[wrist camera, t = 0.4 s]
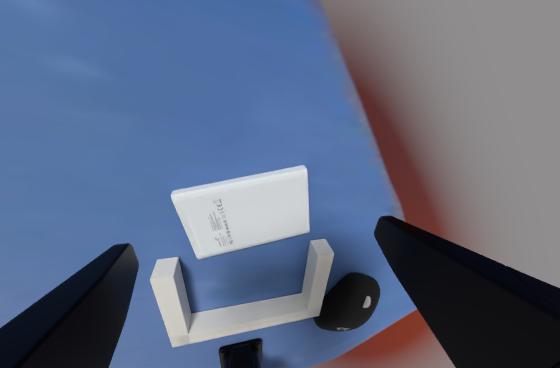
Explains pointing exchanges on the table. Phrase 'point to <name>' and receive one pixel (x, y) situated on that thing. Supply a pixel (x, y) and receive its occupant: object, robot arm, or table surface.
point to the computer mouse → (349, 303)
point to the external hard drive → (244, 211)
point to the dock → (238, 317)
